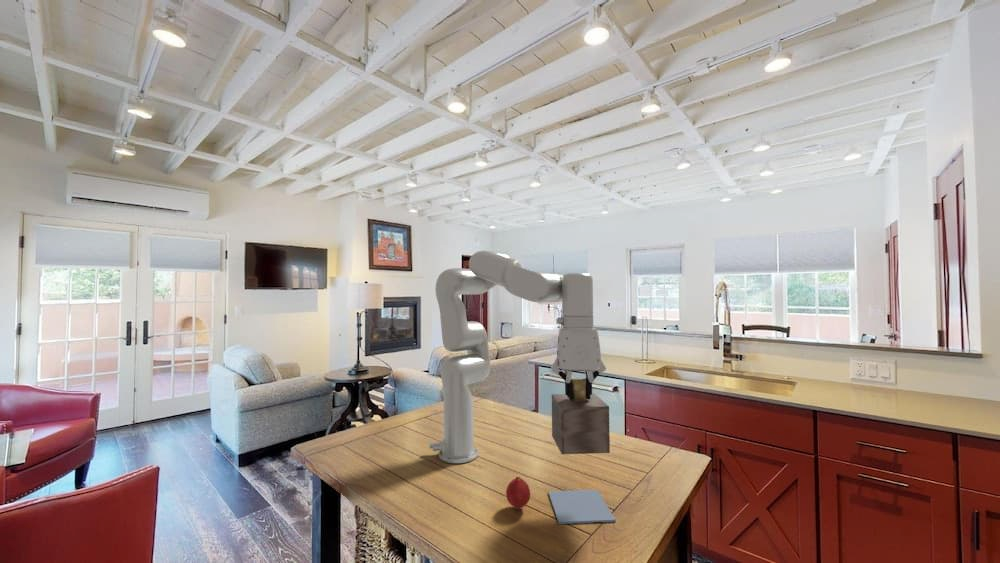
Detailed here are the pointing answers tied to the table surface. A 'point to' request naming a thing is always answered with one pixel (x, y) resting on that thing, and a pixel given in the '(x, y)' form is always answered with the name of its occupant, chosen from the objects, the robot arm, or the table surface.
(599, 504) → the mat
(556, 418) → the cover
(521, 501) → the onion
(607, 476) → the table surface
